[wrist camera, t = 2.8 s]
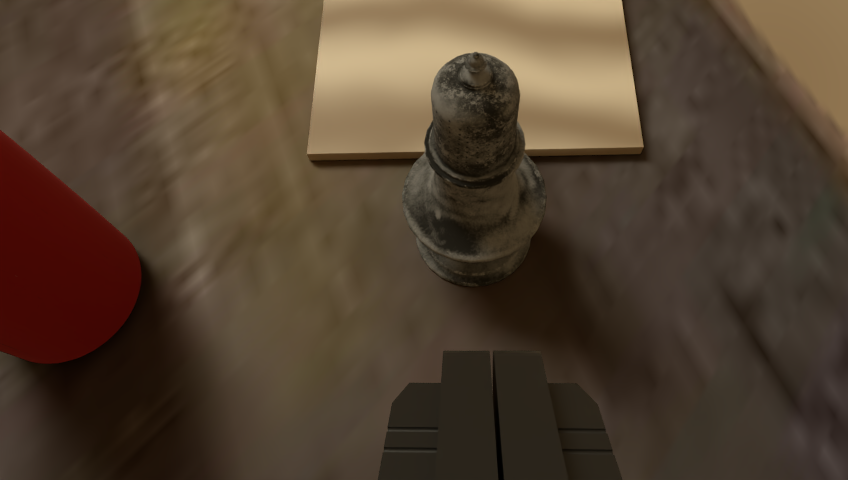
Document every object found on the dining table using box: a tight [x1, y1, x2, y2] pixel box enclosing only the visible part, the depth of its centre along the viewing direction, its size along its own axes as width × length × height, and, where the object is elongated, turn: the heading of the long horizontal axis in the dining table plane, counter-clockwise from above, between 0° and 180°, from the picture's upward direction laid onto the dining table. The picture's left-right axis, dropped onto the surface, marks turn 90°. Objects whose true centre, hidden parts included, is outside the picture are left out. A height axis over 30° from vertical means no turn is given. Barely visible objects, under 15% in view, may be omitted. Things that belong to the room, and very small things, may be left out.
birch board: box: [307, 0, 644, 160], centre depth 33 cm, size 16×16×1 cm
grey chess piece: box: [402, 52, 547, 287], centre depth 23 cm, size 6×6×12 cm
